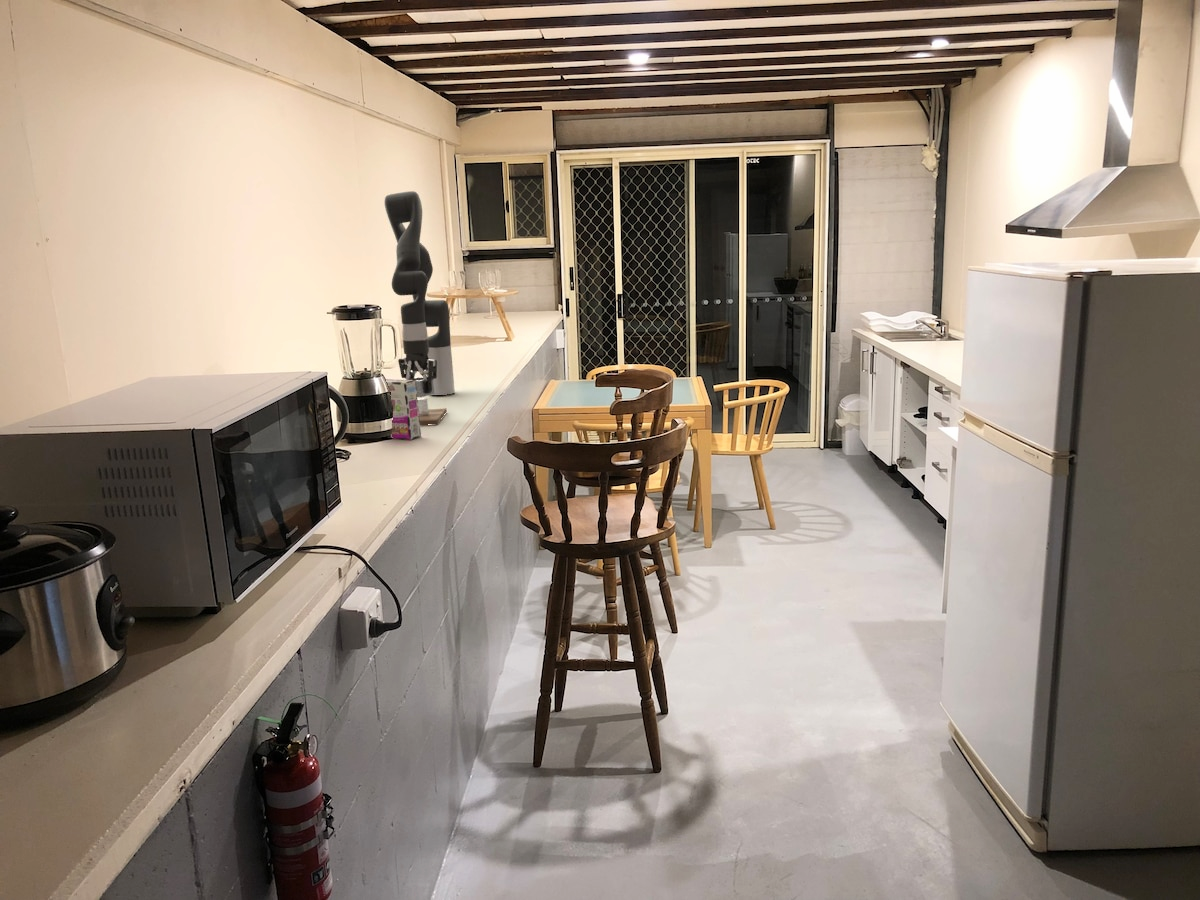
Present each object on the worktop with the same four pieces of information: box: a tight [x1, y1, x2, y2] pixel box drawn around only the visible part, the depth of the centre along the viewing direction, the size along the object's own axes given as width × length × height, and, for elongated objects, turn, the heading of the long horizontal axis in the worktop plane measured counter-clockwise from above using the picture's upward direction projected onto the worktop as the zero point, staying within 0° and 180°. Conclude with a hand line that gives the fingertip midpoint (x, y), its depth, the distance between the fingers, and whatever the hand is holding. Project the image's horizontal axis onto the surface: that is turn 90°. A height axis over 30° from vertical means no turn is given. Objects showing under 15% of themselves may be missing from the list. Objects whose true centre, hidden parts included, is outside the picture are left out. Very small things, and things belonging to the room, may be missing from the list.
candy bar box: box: [386, 378, 422, 441], centre depth 254 cm, size 11×5×16 cm, turn 62°
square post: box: [417, 397, 429, 416], centre depth 278 cm, size 3×3×5 cm
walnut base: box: [419, 407, 447, 426], centre depth 279 cm, size 18×12×2 cm, turn 0°
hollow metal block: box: [407, 376, 434, 398], centre depth 277 cm, size 6×6×5 cm
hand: (420, 392), depth 277 cm, fingers closed on hollow metal block, 6 cm apart
